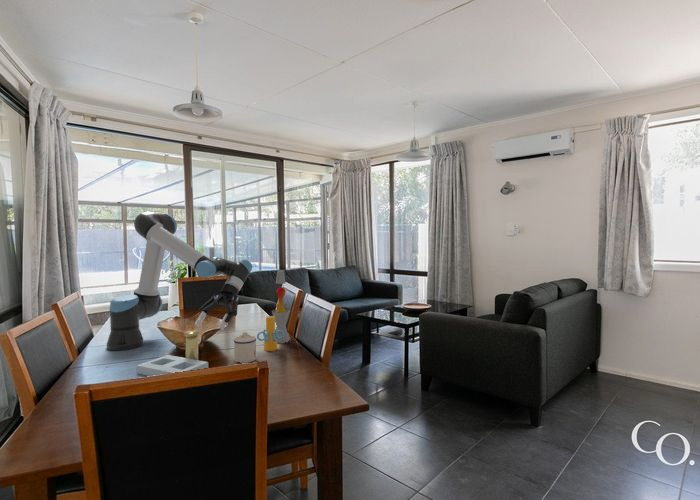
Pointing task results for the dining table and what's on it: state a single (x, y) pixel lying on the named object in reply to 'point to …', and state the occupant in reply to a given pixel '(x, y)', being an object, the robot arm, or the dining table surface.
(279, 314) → the lava lamp
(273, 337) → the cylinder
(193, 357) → the brass sleeve
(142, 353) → the dining table surface
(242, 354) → the teacup with lid
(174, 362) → the jig plate
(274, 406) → the dining table surface
